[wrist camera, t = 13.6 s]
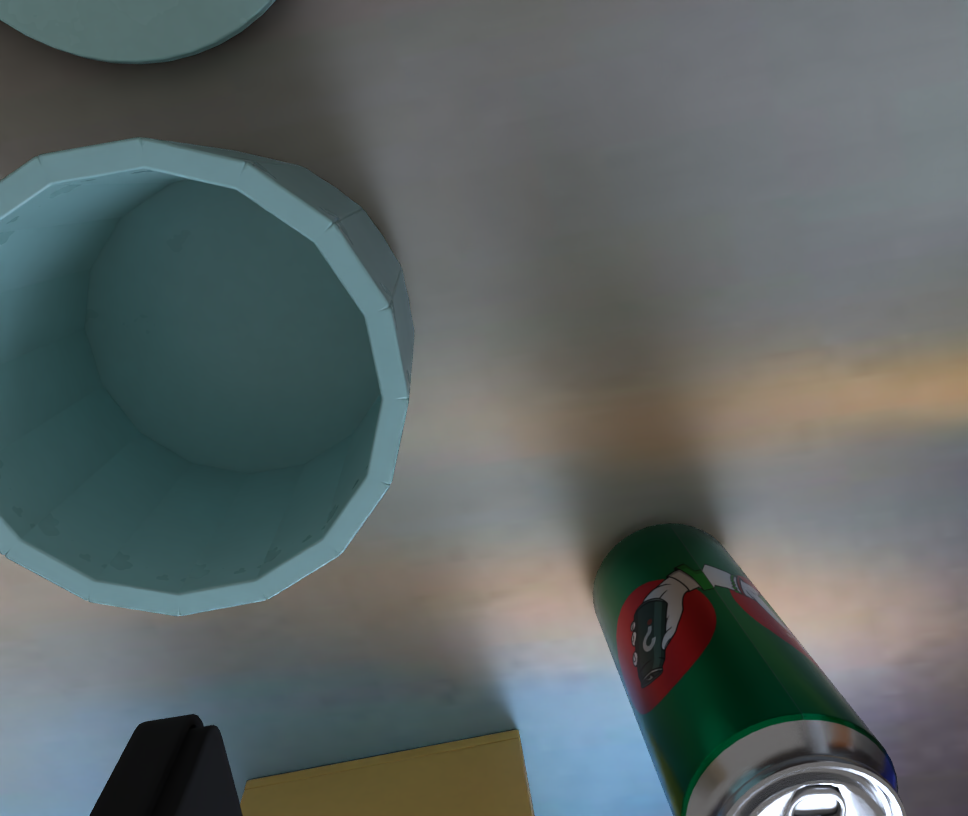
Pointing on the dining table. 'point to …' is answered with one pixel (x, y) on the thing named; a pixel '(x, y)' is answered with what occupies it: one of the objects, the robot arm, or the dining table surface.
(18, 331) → the pot
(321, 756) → the dining table surface
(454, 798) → the bin
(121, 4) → the pot lid
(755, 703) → the soda can
